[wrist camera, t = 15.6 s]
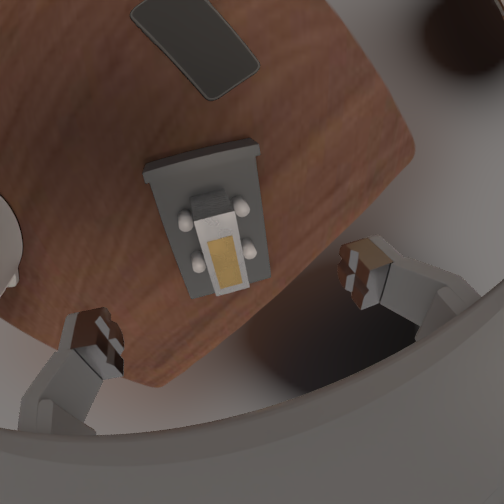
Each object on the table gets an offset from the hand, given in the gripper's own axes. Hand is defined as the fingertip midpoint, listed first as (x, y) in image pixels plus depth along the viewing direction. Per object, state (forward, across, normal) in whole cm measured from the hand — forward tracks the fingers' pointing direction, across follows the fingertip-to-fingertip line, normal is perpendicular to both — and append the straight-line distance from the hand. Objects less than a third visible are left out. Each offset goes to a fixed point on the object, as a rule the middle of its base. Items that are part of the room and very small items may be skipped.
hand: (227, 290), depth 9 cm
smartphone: (+24, -3, -12) cm, 27 cm away
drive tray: (+24, -2, +11) cm, 26 cm away
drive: (+22, -1, +11) cm, 25 cm away
